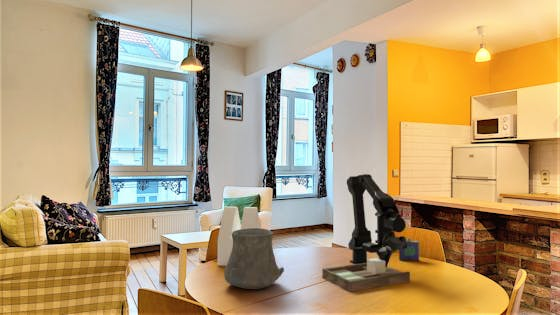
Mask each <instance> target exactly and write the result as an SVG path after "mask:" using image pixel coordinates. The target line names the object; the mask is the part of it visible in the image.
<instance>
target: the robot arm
mask: <svg viewBox="0 0 560 315" xmlns="http://www.w3.org/2000/svg"><path fill="white" fill-rule="evenodd" d="M346 185H347V190H348V192H349V193H350V194H351V197H352V207H353V208H352V210H353V219H354V220H353V222H354V229H353V231H352V233H351V239H350V240H349V242H348V250H351V251H352V260H349V262H350V263H352V264H353V265H354V264H361V263H367V259H368V253H369V254H373V253H374V254H375V253H376V255H377V256H378V259H381V260H384V261H385V268H386V267H388V264H389V262H390V260H391V257H392V254H394V253H396V252H397V251H399V250H402V249H405V248H407V243H406V240H407V238H406V236H405V235H404V236H403V235H401V236H396V233H402V232H403V231H405V229H406V227H407V225H406V224H407V223H406V221H405V219H404V218H403V217H402V215H401V213H400V210H399V208H398V206H397V204H396V202H395V199H394V198H393V197H392V196H391V195H390V194H388V193H386V192H384V191H382V189H381V187H380V186H378V184H377V183H376V182H375V180H374V179H373V177H372V174H369V173H367V174H365V173H363V174H362V173H361V174H358V175H356V176H355V175H354V176H349V177H348V178H347V179H346ZM366 191H367V193H368V194H369V196H370V198H372V206H373V207H374V209H375V210H376V212H375V213H374V215H375V217H376V222H377V223H376V226H377V227H376V229H375V230H374V231H375V232H374V233H375V234H377V239H375V241H374V242H375V243H373V240H372V232H371V230H369V229H368V228H367V226H366V224H367V223H366V214H365V203H364V193H365V192H366ZM395 232H396V233H395Z"/></svg>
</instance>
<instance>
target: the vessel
mask: <svg viewBox="0 0 560 315" xmlns="http://www.w3.org/2000/svg"><path fill="white" fill-rule="evenodd" d="M231 234H232V239H233V247H232V251H231V254H230V257H229V260H228V262H227V265H226V266H225V267H224V272H223V277H224V280H225V281H226V283H227V284H229V285H231V286H234V287H238V288H242V289H249V290H259V289H260V290H261V289H264V288H267V287H270V286H271V285H272V284H273V283H275V282H276V281H277V280H278V279H280V277H281V276H282V275H283V274H284V271H285V268H284V267H283V266H282V267H278V265H277V262H276V256H275V254H274V248H273V236H274V231H271V230H270V229H266V228H261V229H260V228H248V229H241V230H236V231H234V232H232V233H231Z"/></svg>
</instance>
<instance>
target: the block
mask: <svg viewBox="0 0 560 315" xmlns="http://www.w3.org/2000/svg"><path fill="white" fill-rule="evenodd" d="M367 271H369V272H371V273H374V274H379V273H385V261H384V260H381V259H380V258H379V257H373V258H367Z"/></svg>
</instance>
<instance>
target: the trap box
mask: <svg viewBox="0 0 560 315" xmlns="http://www.w3.org/2000/svg"><path fill="white" fill-rule="evenodd" d="M321 272H322V278H323V279H324V280H326V281H328V282H330V283H332V284H334V285H335V286H338V287H340V288H341V289H343V290H345V291H347V292H349V293H350V292H351V293H352V292H356V291H362V290H368V289H373V288H379V287H386V286H391V285H397V284H404V283H409V282H411V272H410V271H400V270H398V269H394V268H392V267H390V266H387V267H386V268H385V273H379V274H374V273H371V272H369V271H367V263H361V264H354V263H353V264H347V265H340V266H334V267H333V266H332V267H325V268H322V271H321Z"/></svg>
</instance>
